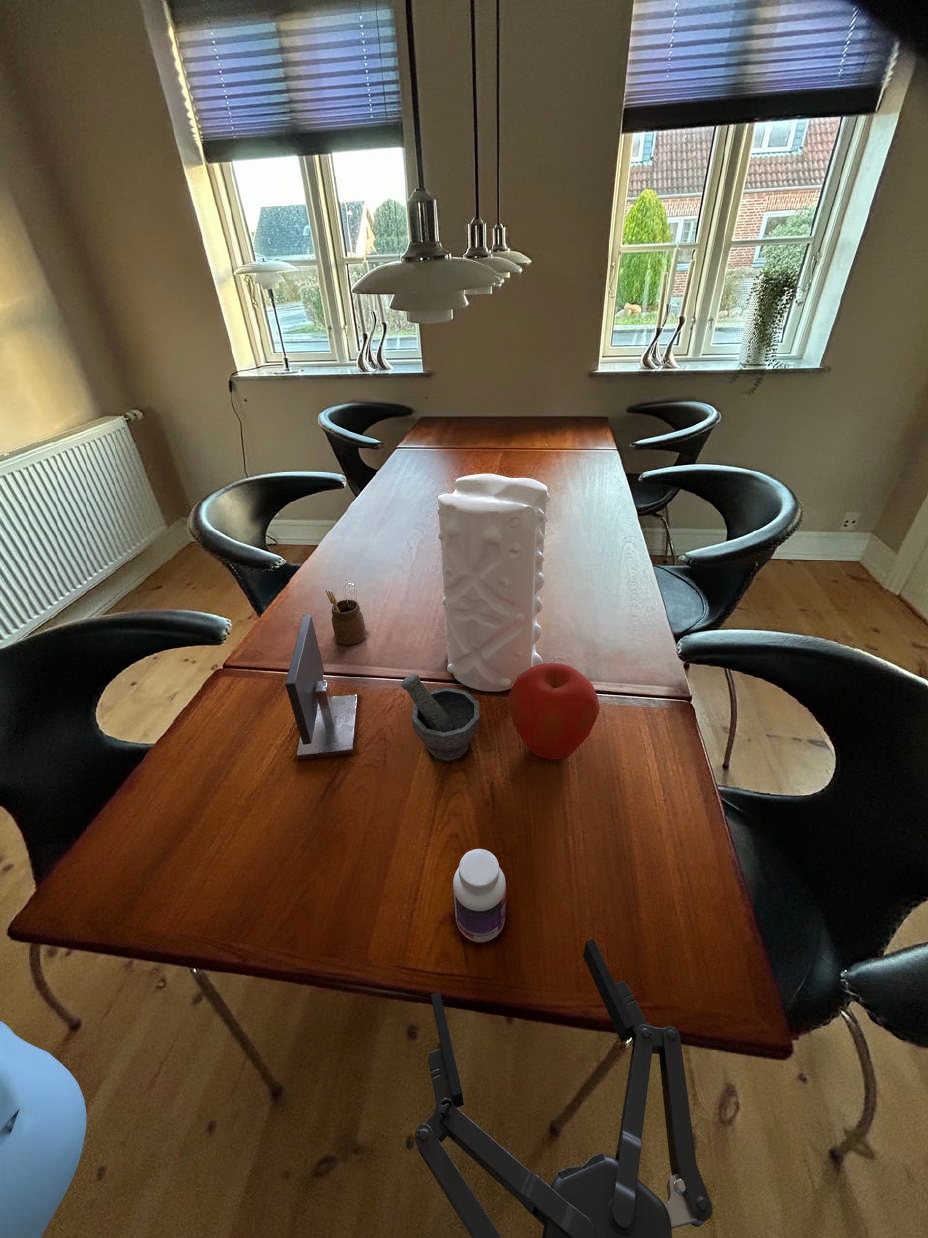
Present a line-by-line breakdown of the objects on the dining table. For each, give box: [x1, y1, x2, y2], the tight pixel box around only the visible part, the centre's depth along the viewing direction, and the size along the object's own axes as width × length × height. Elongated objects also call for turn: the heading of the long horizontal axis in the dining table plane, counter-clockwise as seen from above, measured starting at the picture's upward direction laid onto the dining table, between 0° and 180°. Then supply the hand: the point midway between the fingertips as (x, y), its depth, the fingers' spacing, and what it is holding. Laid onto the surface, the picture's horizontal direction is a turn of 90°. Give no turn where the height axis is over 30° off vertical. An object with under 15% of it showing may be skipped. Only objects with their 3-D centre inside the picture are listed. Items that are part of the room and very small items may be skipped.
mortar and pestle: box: [401, 673, 480, 762], centre depth 76 cm, size 11×9×12 cm
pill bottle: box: [452, 848, 507, 943], centre depth 55 cm, size 5×5×10 cm
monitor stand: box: [296, 679, 359, 761], centre depth 80 cm, size 8×12×8 cm, turn 6°
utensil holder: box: [325, 582, 367, 646], centre depth 99 cm, size 6×6×12 cm
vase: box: [437, 473, 551, 692], centre depth 85 cm, size 17×16×32 cm
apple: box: [506, 662, 601, 760], centre depth 74 cm, size 12×12×14 cm
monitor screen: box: [284, 614, 325, 745], centre depth 76 cm, size 1×16×11 cm, turn 6°
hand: (514, 972), depth 45 cm, fingers open, 13 cm apart
